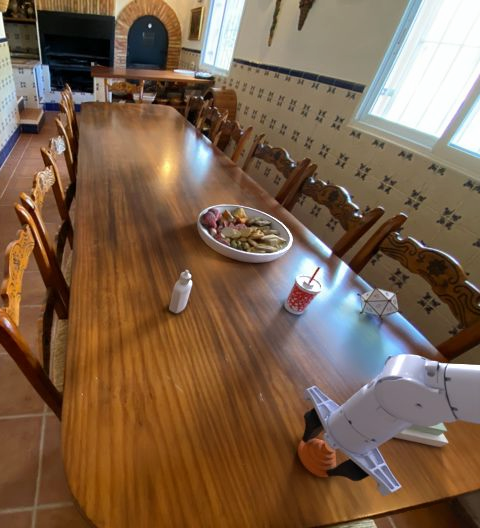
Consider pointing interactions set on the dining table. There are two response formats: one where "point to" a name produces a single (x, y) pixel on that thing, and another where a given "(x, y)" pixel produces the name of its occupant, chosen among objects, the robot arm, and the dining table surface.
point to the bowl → (243, 233)
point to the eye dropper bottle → (181, 292)
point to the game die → (379, 303)
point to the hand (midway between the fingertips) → (318, 454)
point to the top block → (430, 429)
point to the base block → (423, 437)
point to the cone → (317, 456)
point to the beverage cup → (303, 293)
